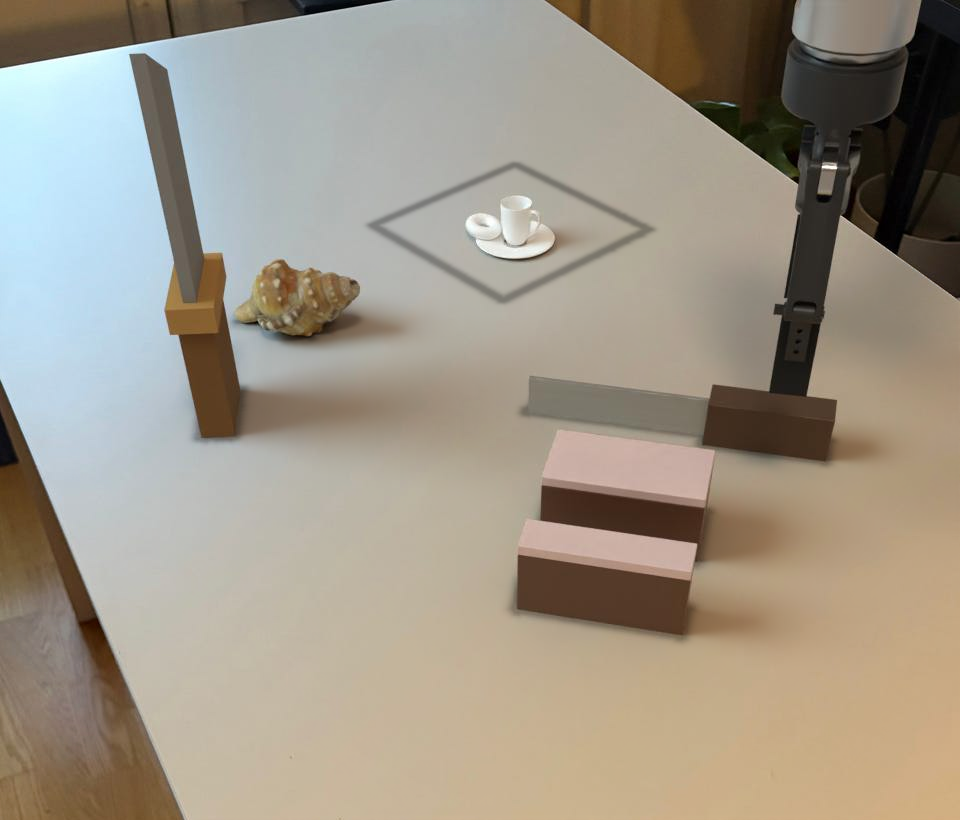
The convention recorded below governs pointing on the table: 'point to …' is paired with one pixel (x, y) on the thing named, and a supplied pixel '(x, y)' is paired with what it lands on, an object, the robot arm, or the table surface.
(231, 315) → the table surface
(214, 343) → the knife
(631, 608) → the cake slice
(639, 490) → the cake
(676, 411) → the cake knife
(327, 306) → the seashell
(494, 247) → the teacup and saucer
